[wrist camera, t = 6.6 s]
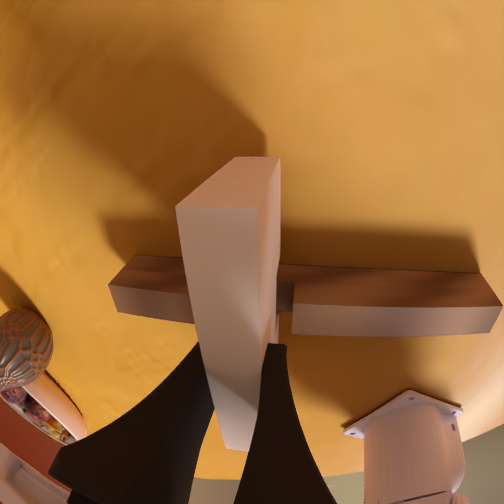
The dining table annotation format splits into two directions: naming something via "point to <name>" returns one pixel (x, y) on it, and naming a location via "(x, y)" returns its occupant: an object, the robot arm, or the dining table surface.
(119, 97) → the dining table surface
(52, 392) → the bowl
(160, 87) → the dining table surface
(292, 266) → the walnut rail
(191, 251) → the notched white slab
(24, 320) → the vase
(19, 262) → the dining table surface
